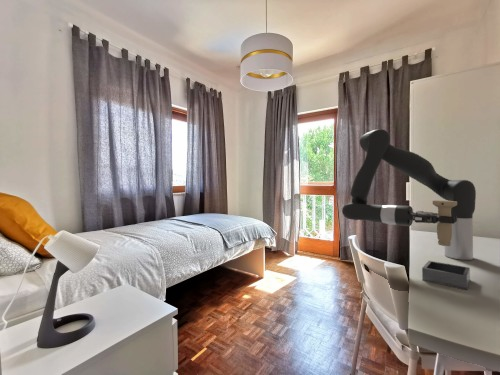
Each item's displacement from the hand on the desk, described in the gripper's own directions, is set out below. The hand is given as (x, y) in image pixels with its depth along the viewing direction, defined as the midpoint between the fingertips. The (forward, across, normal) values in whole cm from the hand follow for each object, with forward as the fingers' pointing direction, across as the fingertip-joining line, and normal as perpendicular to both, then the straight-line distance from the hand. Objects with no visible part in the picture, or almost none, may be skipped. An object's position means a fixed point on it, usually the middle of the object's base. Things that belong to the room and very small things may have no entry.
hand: (455, 219), depth 78 cm
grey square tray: (-2, -3, +20) cm, 20 cm away
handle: (-3, 0, +9) cm, 10 cm away
